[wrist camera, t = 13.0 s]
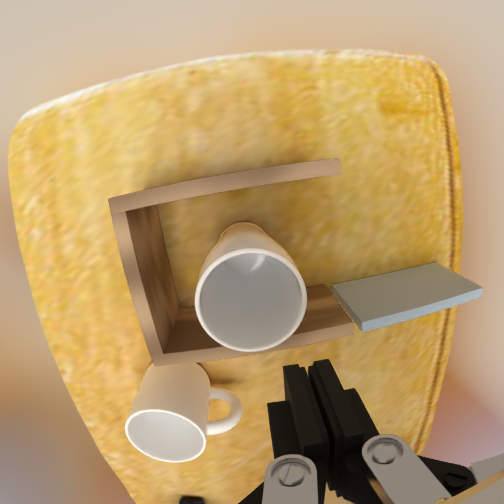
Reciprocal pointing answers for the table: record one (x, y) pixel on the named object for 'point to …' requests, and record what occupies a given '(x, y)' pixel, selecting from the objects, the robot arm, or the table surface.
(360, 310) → the thin blue-gray plank
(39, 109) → the table surface
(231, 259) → the drinking glass
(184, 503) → the book
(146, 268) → the u-shaped wooden frame
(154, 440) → the mug
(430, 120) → the table surface
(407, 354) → the table surface
